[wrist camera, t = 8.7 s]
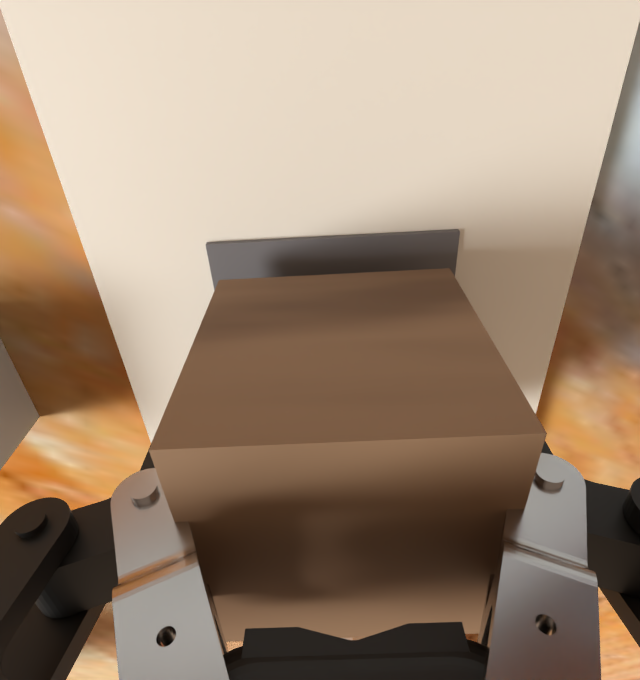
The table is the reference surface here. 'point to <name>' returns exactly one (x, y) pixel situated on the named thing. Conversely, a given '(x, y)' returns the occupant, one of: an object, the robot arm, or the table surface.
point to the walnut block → (346, 452)
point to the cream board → (324, 152)
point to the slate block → (13, 407)
